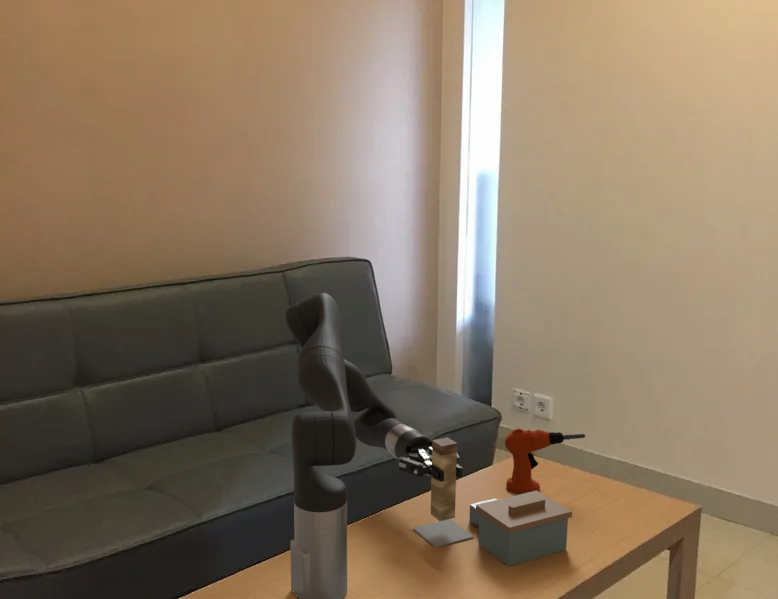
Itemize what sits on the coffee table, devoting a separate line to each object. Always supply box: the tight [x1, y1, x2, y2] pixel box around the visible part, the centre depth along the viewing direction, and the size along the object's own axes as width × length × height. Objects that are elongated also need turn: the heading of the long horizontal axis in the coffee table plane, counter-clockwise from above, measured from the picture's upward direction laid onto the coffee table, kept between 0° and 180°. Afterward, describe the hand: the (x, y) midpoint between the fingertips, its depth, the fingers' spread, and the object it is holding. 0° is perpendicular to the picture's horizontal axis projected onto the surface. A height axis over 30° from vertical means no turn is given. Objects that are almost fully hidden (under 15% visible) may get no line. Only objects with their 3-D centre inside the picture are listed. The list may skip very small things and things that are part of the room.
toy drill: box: [504, 428, 586, 494], centre depth 190 cm, size 5×19×15 cm, turn 85°
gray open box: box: [468, 498, 499, 530], centre depth 173 cm, size 7×7×4 cm
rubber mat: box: [412, 519, 474, 549], centre depth 170 cm, size 9×9×1 cm
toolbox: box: [476, 491, 573, 567], centre depth 163 cm, size 15×11×10 cm
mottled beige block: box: [430, 436, 458, 522], centre depth 168 cm, size 4×4×16 cm
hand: (451, 474), depth 165 cm, fingers closed on mottled beige block, 3 cm apart
